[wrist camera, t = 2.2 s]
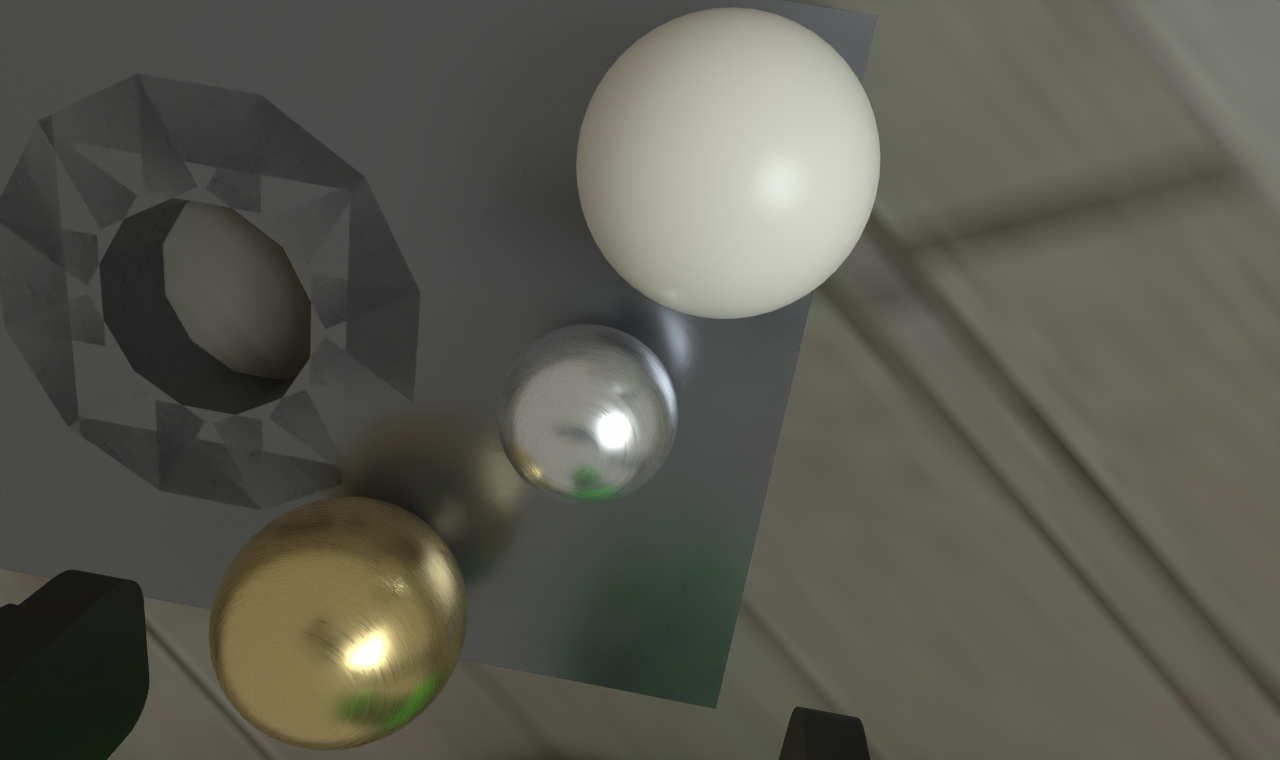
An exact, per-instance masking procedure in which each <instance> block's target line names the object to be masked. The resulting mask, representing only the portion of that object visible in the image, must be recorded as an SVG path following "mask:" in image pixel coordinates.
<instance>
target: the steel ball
mask: <svg viewBox="0 0 1280 760" xmlns="http://www.w3.org/2000/svg"><path fill="white" fill-rule="evenodd" d="M496 419H497V428H498V434H499V438H500V442H501V445H502V447H503V450H504V452H505V454H506V456H507V458H508V460H509V462H510V463H511V465H512V466H513V467H514V469H515V470H516V472H517V473H518V474H519V475H520V476H521V477H522V478H523V479H524V481H526V482H527V483H528V484H529V485H530V486H532V487H533V488H534V489H536V490H537V491H539V492H540V493H542V494H544V495H546V496H548V497H550V498H552V499H555V500H558V501H560V502H564V503H568V504H575V505H599V504H605V503H609V502H613V501H616V500H619V499H622V498H624V497H626V496H628V495H630V494H632V493H634V492H635V491H637V490H638V489H639V488H641V487H642V486H644V485H645V484H646V483H647V482H648V481H649V480H650V479H652V478H653V477H654V475H655V474H656V473H657V472H658V470H659V469H660V468H661V467H662V465H663V464H664V462H665V460H666V459H667V457H668V455H669V453H670V450H671V448H672V446H673V442H674V439H675V435H676V431H677V423H678V404H677V398H676V393H675V390H674V387H673V384H672V381H671V379H670V377H669V374H668V372H667V370H666V369H665V367H664V365H663V364H662V362H661V361H660V360H659V358H658V357H657V356H656V355H655V354H654V352H653V351H651V350H650V349H649V348H648V347H647V346H646V345H645V344H644V343H642V342H641V341H639V340H638V339H636V338H635V337H633V336H631V335H629V334H627V333H626V332H623V331H621V330H618V329H615V328H612V327H608V326H604V325H596V324H578V325H571V326H566V327H563V328H559V329H557V330H554V331H552V332H550V333H547V334H545V335H543V336H542V337H540V338H538V339H537V340H535V341H534V342H533V343H531V344H530V345H529V346H528V347H526V348H525V349H524V350H523V351H522V353H521V354H520V355H519V356H518V357H517V358H516V359H515V361H514V362H513V363H512V365H511V366H510V368H509V370H508V372H507V374H506V376H505V378H504V380H503V382H502V385H501V388H500V391H499V397H498V402H497V414H496Z"/></svg>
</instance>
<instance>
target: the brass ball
mask: <svg viewBox="0 0 1280 760" xmlns="http://www.w3.org/2000/svg"><path fill="white" fill-rule="evenodd" d="M467 623H468V604H467V595H466V588H465V584H464V581H463V577H462V574H461V571H460V568H459V566H458V564H457V561H456V559H455V557H454V555H453V554H452V552H451V550H450V549H449V547H448V546H447V545H446V543H445V542H444V541H443V539H442V538H441V537H440V536H439V535H438V534H437V533H436V532H435V531H434V530H433V529H432V527H431V526H429V525H428V524H427V523H426V522H424V521H423V520H422V519H421V518H419V517H417V516H416V515H414V514H413V513H411V512H409V511H407V510H405V509H403V508H401V507H399V506H396V505H394V504H391V503H388V502H385V501H381V500H377V499H373V498H366V497H335V498H326V499H322V500H318V501H314V502H311V503H307V504H304V505H302V506H299V507H297V508H294V509H292V510H290V511H288V512H286V513H284V514H282V515H281V516H279V517H277V518H276V519H274V520H272V521H271V522H269V523H268V524H267V525H266V526H264V527H263V528H262V529H261V530H260V531H258V532H257V533H256V534H255V535H254V536H252V537H251V538H250V539H249V540H248V542H247V543H246V544H245V545H244V546H243V547H242V549H241V550H240V551H239V552H238V553H237V555H236V556H235V557H234V559H233V560H232V562H231V564H230V565H229V567H228V569H227V570H226V572H225V574H224V575H223V577H222V579H221V582H220V584H219V587H218V589H217V592H216V595H215V598H214V601H213V606H212V610H211V616H210V624H209V643H210V652H211V660H212V663H213V667H214V671H215V673H216V676H217V678H218V681H219V683H220V686H221V688H222V690H223V692H224V693H225V695H226V697H227V698H228V700H229V701H230V703H231V704H232V705H233V707H234V708H235V709H236V710H237V711H238V712H239V713H240V714H241V715H242V716H243V718H245V719H246V720H247V721H248V722H249V723H250V724H251V725H253V726H254V727H255V728H257V729H258V730H259V731H261V732H263V733H264V734H266V735H268V736H269V737H272V738H274V739H276V740H278V741H281V742H283V743H286V744H289V745H292V746H296V747H300V748H305V749H311V750H326V751H327V750H341V749H349V748H355V747H359V746H362V745H366V744H369V743H372V742H375V741H378V740H380V739H383V738H385V737H387V736H389V735H391V734H393V733H394V732H396V731H398V730H400V729H401V728H403V727H404V726H406V725H407V724H409V723H410V722H412V721H413V720H414V719H415V718H416V717H418V716H419V715H420V714H421V713H422V712H423V711H424V710H425V709H426V708H427V707H429V706H430V704H431V703H432V702H433V701H434V700H435V698H436V697H437V696H438V695H439V693H440V692H441V691H442V690H443V688H444V687H445V685H446V683H447V682H448V680H449V678H450V676H451V675H452V673H453V671H454V669H455V667H456V665H457V662H458V660H459V657H460V654H461V651H462V648H463V645H464V641H465V635H466V629H467Z"/></svg>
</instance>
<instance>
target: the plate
mask: <svg viewBox="0 0 1280 760" xmlns="http://www.w3.org/2000/svg"><path fill="white" fill-rule="evenodd" d="M730 7H737V8H748V9H757V10H761V11H765V12H770V13H774V14H777V15H780V16H782V17H785V18H787V19H790V20H792V21H795V22H797V23H798V24H800V25H802V26H804V27H805V28H807V29H809V30H811V31H812V32H814V33H815V34H817V35H818V36H819V37H820V38H822V39H823V40H824V41H826V42H827V43H828V44H829V45H831V46H832V47H833V48H834V49H835V51H836V52H837V53H838V54H839V55H840V56H841V57H842V58H843V59H844V60H845V61H846V62H847V64H848V65H849V67H850V68H851V69H852V71H853V72H854V74H855V75H856V76H857V78H858V80H859V82H860V83H861V84H862V79H863V75H864V71H865V66H866V62H867V58H868V54H869V49H870V45H871V41H872V36H873V32H874V28H875V24H876V19H877V15H871V14H865V13H859V12H853V11H847V10H840V9H834V8H828V7H822V6H816V5H809V4H803V3H797V2H791V1H784V0H0V568H2V569H7V570H12V571H17V572H22V573H27V574H32V575H37V576H42V577H48V578H54V577H55V576H57V575H58V574H60V573H62V572H64V571H67V570H80V571H85V572H91V573H96V574H101V575H107V576H112V577H117V578H123V579H128V580H133V581H135V582H137V583H138V584H139V586H140V587H141V590H142V593H143V596H144V597H149V598H155V599H160V600H165V601H170V602H175V603H180V604H185V605H190V606H195V607H200V608H206V609H211V610H212V606H213V601H214V598H215V595H216V592H217V589H218V587H219V584H220V582H221V579H222V577H223V575H224V574H225V572H226V570H227V569H228V567H229V565H230V564H231V562H232V560H233V559H234V557H235V556H236V555H237V553H238V552H239V551H240V550H241V549H242V547H243V546H244V545H245V544H246V543H247V542H248V540H249V539H250V538H251V537H252V536H254V535H255V534H256V533H257V532H258V531H260V530H261V529H262V528H263V527H264V526H266V525H267V524H268V523H269V522H271V521H272V520H274V519H276V518H277V517H279V516H281V515H282V514H284V513H286V512H288V511H290V510H292V509H294V508H297V507H299V506H302V505H304V504H307V503H311V502H314V501H318V500H322V499H326V498H335V497H366V498H373V499H377V500H381V501H385V502H388V503H391V504H394V505H396V506H399V507H401V508H403V509H405V510H407V511H409V512H411V513H413V514H414V515H416V516H417V517H419V518H421V519H422V520H423V521H424V522H426V523H427V524H428V525H429V526H431V527H432V529H433V530H434V531H435V532H436V533H437V534H438V535H439V536H440V537H441V538H442V539H443V541H444V542H445V543H446V545H447V546H448V547H449V549H450V550H451V552H452V554H453V555H454V557H455V559H456V561H457V564H458V566H459V568H460V571H461V574H462V577H463V581H464V584H465V588H466V595H467V604H468V623H467V629H466V635H465V641H464V645H463V648H462V651H461V654H460V657H459V658H460V659H465V660H471V661H476V662H481V663H486V664H491V665H496V666H501V667H506V668H511V669H516V670H522V671H527V672H532V673H537V674H542V675H547V676H552V677H557V678H562V679H567V680H572V681H578V682H583V683H588V684H593V685H598V686H603V687H608V688H613V689H618V690H623V691H629V692H634V693H639V694H644V695H649V696H654V697H659V698H664V699H669V700H674V701H679V702H685V703H690V704H695V705H700V706H705V707H710V708H715V709H716V705H717V701H718V696H719V692H720V688H721V683H722V679H723V675H724V671H725V666H726V662H727V658H728V653H729V649H730V645H731V641H732V636H733V632H734V628H735V623H736V619H737V615H738V611H739V606H740V602H741V598H742V593H743V589H744V585H745V581H746V576H747V572H748V568H749V563H750V559H751V555H752V551H753V546H754V542H755V538H756V534H757V529H758V525H759V521H760V516H761V512H762V508H763V504H764V499H765V495H766V491H767V486H768V482H769V478H770V474H771V469H772V465H773V461H774V456H775V452H776V448H777V444H778V439H779V435H780V431H781V426H782V422H783V418H784V414H785V409H786V405H787V401H788V396H789V392H790V388H791V384H792V379H793V375H794V371H795V366H796V362H797V358H798V354H799V349H800V345H801V341H802V336H803V332H804V328H805V324H806V319H807V315H808V311H809V306H810V302H811V298H812V294H813V290H812V291H811V292H810V293H808V294H807V295H805V296H803V297H802V298H800V299H798V300H796V301H795V302H793V303H791V304H789V305H786V306H784V307H782V308H779V309H777V310H774V311H771V312H768V313H764V314H760V315H756V316H751V317H744V318H737V319H714V318H705V317H698V316H693V315H689V314H685V313H681V312H678V311H676V310H673V309H670V308H668V307H665V306H663V305H661V304H659V303H657V302H655V301H654V300H652V299H650V298H648V297H646V296H645V295H643V294H642V293H641V292H639V291H638V290H636V289H635V288H634V287H632V286H631V285H630V284H629V283H628V282H627V281H626V280H625V279H624V278H622V277H621V276H620V275H619V274H618V273H617V272H616V270H615V269H614V268H613V267H612V266H611V264H610V263H609V262H608V261H607V260H606V258H605V257H604V255H603V254H602V252H601V250H600V249H599V247H598V246H597V244H596V242H595V240H594V238H593V236H592V234H591V232H590V230H589V228H588V225H587V222H586V219H585V216H584V213H583V210H582V207H581V202H580V197H579V192H578V187H577V172H576V161H577V146H578V141H579V135H580V130H581V126H582V122H583V119H584V116H585V113H586V110H587V107H588V105H589V103H590V101H591V99H592V97H593V94H594V92H595V90H596V88H597V87H598V85H599V84H600V82H601V80H602V79H603V77H604V76H605V74H606V73H607V71H608V70H609V69H610V68H611V66H612V65H613V64H614V63H615V62H616V61H617V59H618V58H619V57H620V56H621V55H622V54H623V53H624V52H625V51H626V50H627V49H628V48H629V47H631V46H632V45H633V44H634V43H635V42H636V41H637V40H639V39H640V38H642V37H643V36H645V35H646V34H648V33H649V32H650V31H652V30H653V29H655V28H657V27H659V26H661V25H663V24H665V23H667V22H669V21H671V20H673V19H676V18H678V17H681V16H684V15H687V14H690V13H693V12H698V11H703V10H708V9H713V8H730ZM189 201H194V202H200V203H206V204H211V205H217V206H223V207H228V208H232V209H233V210H235V211H236V212H237V213H239V214H240V215H241V216H243V217H244V218H245V219H246V220H248V221H249V222H250V223H252V224H253V225H254V226H256V227H257V228H258V229H260V230H261V231H262V232H264V233H265V234H266V235H267V236H269V237H270V238H271V239H273V240H274V241H275V242H277V243H278V244H279V245H281V246H282V247H283V249H284V251H285V253H286V255H287V257H288V259H289V260H290V262H291V264H292V266H293V268H294V270H295V272H296V274H297V276H298V278H299V280H300V282H301V284H302V286H303V288H304V290H305V291H306V293H307V295H308V297H309V299H310V301H311V343H310V359H309V360H308V362H307V363H306V364H305V366H304V367H303V369H302V370H301V372H300V373H299V375H298V376H296V377H294V378H291V379H288V380H285V381H277V380H272V379H267V378H261V377H256V376H250V375H245V374H239V373H234V372H233V371H231V370H230V369H229V368H227V367H226V366H224V365H223V364H222V363H220V362H219V361H218V360H216V359H215V358H214V357H212V356H211V355H209V354H208V353H207V352H205V351H204V350H203V349H201V348H200V347H198V346H197V345H196V344H194V343H193V342H192V341H191V340H190V338H189V336H188V335H187V333H186V331H185V329H184V328H183V326H182V324H181V322H180V321H179V319H178V317H177V315H176V314H175V312H174V310H173V308H172V307H171V305H170V303H169V301H168V300H167V298H166V296H165V291H164V271H163V250H162V244H163V242H164V240H165V238H166V237H167V235H168V233H169V231H170V230H171V228H172V226H173V224H174V223H175V221H176V219H177V218H178V216H179V214H180V212H181V211H182V209H183V207H184V205H185V204H186V203H187V202H189ZM578 324H596V325H604V326H608V327H612V328H615V329H618V330H621V331H623V332H626V333H627V334H629V335H631V336H633V337H635V338H636V339H638V340H639V341H641V342H642V343H644V344H645V345H646V346H647V347H648V348H649V349H650V350H651V351H653V352H654V354H655V355H656V356H657V357H658V358H659V360H660V361H661V362H662V364H663V365H664V367H665V369H666V370H667V372H668V374H669V377H670V379H671V381H672V384H673V387H674V390H675V393H676V398H677V404H678V423H677V431H676V435H675V439H674V442H673V446H672V448H671V450H670V453H669V455H668V457H667V459H666V460H665V462H664V464H663V465H662V467H661V468H660V469H659V470H658V472H657V473H656V474H655V475H654V477H653V478H652V479H650V480H649V481H648V482H647V483H646V484H645V485H644V486H642V487H641V488H639V489H638V490H637V491H635V492H634V493H632V494H630V495H628V496H626V497H624V498H622V499H619V500H616V501H613V502H609V503H605V504H599V505H575V504H568V503H564V502H560V501H558V500H555V499H552V498H550V497H548V496H546V495H544V494H542V493H540V492H539V491H537V490H536V489H534V488H533V487H532V486H530V485H529V484H528V483H527V482H526V481H524V479H523V478H522V477H521V476H520V475H519V474H518V473H517V472H516V470H515V469H514V467H513V466H512V465H511V463H510V462H509V460H508V458H507V456H506V454H505V452H504V450H503V447H502V445H501V442H500V438H499V434H498V428H497V419H496V414H497V402H498V397H499V391H500V388H501V385H502V382H503V380H504V378H505V376H506V374H507V372H508V370H509V368H510V366H511V365H512V363H513V362H514V361H515V359H516V358H517V357H518V356H519V355H520V354H521V353H522V351H523V350H524V349H525V348H526V347H528V346H529V345H530V344H531V343H533V342H534V341H535V340H537V339H538V338H540V337H542V336H543V335H545V334H547V333H550V332H552V331H554V330H557V329H559V328H563V327H566V326H571V325H578Z"/></svg>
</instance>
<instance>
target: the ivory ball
mask: <svg viewBox="0 0 1280 760" xmlns="http://www.w3.org/2000/svg"><path fill="white" fill-rule="evenodd" d="M576 172H577V187H578V192H579V197H580V202H581V207H582V210H583V213H584V216H585V219H586V222H587V225H588V228H589V230H590V232H591V234H592V236H593V238H594V240H595V242H596V244H597V246H598V247H599V249H600V250H601V252H602V254H603V255H604V257H605V258H606V260H607V261H608V262H609V263H610V264H611V266H612V267H613V268H614V269H615V270H616V272H617V273H618V274H619V275H620V276H621V277H622V278H624V279H625V280H626V281H627V282H628V283H629V284H630V285H631V286H632V287H634V288H635V289H636V290H638V291H639V292H641V293H642V294H643V295H645V296H646V297H648V298H650V299H652V300H654V301H655V302H657V303H659V304H661V305H663V306H665V307H668V308H670V309H673V310H676V311H678V312H681V313H685V314H689V315H693V316H698V317H705V318H714V319H737V318H744V317H751V316H756V315H760V314H764V313H768V312H771V311H774V310H777V309H779V308H782V307H784V306H786V305H789V304H791V303H793V302H795V301H796V300H798V299H800V298H802V297H803V296H805V295H807V294H808V293H810V292H811V291H812V290H814V289H815V288H817V287H818V286H819V285H821V284H822V283H823V282H824V281H825V280H826V279H827V278H828V277H829V276H831V275H832V274H833V273H834V272H835V271H836V270H837V269H838V267H839V266H840V265H841V264H842V263H843V261H844V260H845V259H846V258H847V257H848V255H849V254H850V252H851V251H852V249H853V248H854V246H855V245H856V243H857V241H858V240H859V238H860V236H861V234H862V232H863V230H864V228H865V226H866V223H867V221H868V219H869V216H870V213H871V210H872V207H873V204H874V201H875V198H876V192H877V187H878V181H879V173H880V146H879V135H878V131H877V126H876V121H875V117H874V113H873V111H872V108H871V105H870V102H869V100H868V97H867V95H866V93H865V91H864V89H863V87H862V85H861V83H860V82H859V80H858V78H857V76H856V75H855V74H854V72H853V71H852V69H851V68H850V67H849V65H848V64H847V62H846V61H845V60H844V59H843V58H842V57H841V56H840V55H839V54H838V53H837V52H836V51H835V49H834V48H833V47H832V46H831V45H829V44H828V43H827V42H826V41H824V40H823V39H822V38H820V37H819V36H818V35H817V34H815V33H814V32H812V31H811V30H809V29H807V28H805V27H804V26H802V25H800V24H798V23H797V22H795V21H792V20H790V19H787V18H785V17H782V16H780V15H777V14H774V13H770V12H765V11H761V10H757V9H748V8H737V7H730V8H713V9H708V10H703V11H698V12H693V13H690V14H687V15H684V16H681V17H678V18H676V19H673V20H671V21H669V22H667V23H665V24H663V25H661V26H659V27H657V28H655V29H653V30H652V31H650V32H649V33H648V34H646V35H645V36H643V37H642V38H640V39H639V40H637V41H636V42H635V43H634V44H633V45H632V46H631V47H629V48H628V49H627V50H626V51H625V52H624V53H623V54H622V55H621V56H620V57H619V58H618V59H617V61H616V62H615V63H614V64H613V65H612V66H611V68H610V69H609V70H608V71H607V73H606V74H605V76H604V77H603V79H602V80H601V82H600V84H599V85H598V87H597V88H596V90H595V92H594V94H593V97H592V99H591V101H590V103H589V105H588V107H587V110H586V113H585V116H584V119H583V122H582V126H581V130H580V135H579V141H578V146H577V161H576Z"/></svg>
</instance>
